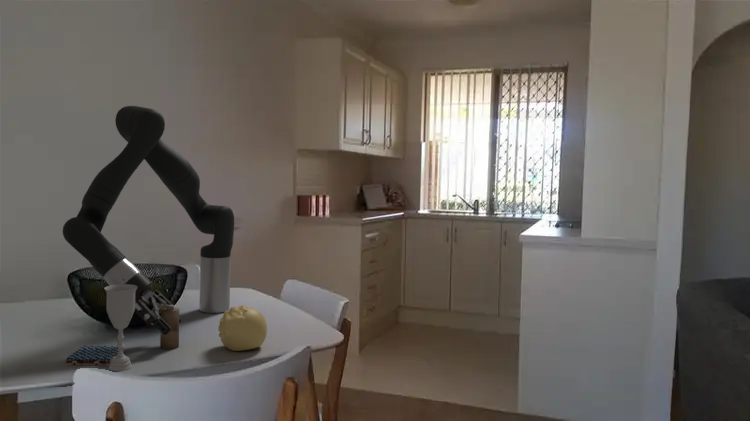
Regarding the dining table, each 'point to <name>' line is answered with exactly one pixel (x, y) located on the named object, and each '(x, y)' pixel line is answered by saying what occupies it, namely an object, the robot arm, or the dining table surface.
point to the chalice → (120, 319)
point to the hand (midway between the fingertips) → (174, 327)
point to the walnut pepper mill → (172, 320)
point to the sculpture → (242, 328)
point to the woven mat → (92, 356)
